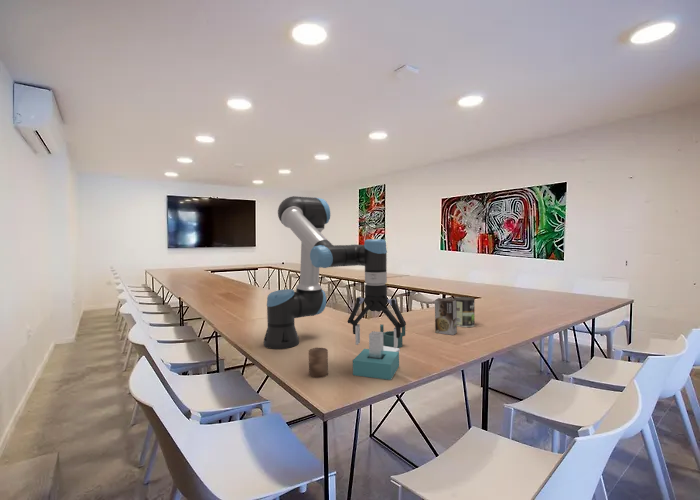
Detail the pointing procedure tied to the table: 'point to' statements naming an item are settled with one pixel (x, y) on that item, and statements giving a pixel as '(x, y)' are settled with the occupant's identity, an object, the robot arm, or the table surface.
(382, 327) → the bracket
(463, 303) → the coffee can
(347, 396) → the table surface
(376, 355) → the square bit
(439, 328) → the coffee box
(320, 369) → the round bit
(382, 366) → the socket block
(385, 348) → the external hard drive
